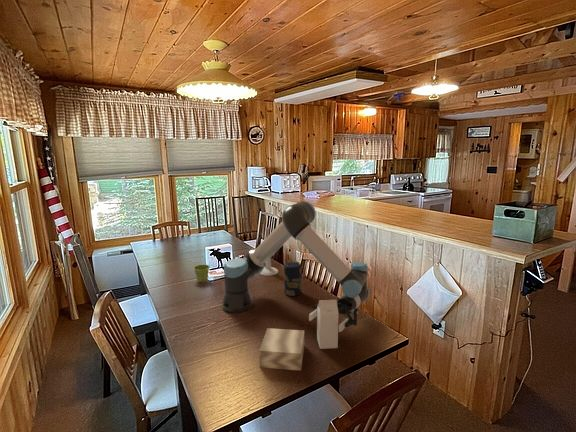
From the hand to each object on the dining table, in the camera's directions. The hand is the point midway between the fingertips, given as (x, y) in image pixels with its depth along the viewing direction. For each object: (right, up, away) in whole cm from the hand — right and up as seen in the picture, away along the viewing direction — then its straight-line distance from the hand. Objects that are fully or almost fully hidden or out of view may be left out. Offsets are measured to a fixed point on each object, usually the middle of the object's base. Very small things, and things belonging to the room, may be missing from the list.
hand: (324, 323), depth 125 cm
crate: (-16, -12, -3) cm, 20 cm away
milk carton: (+2, -10, +4) cm, 11 cm away
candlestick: (-27, +5, +83) cm, 87 cm away
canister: (-12, -1, +51) cm, 52 cm away
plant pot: (-66, +2, +69) cm, 96 cm away
